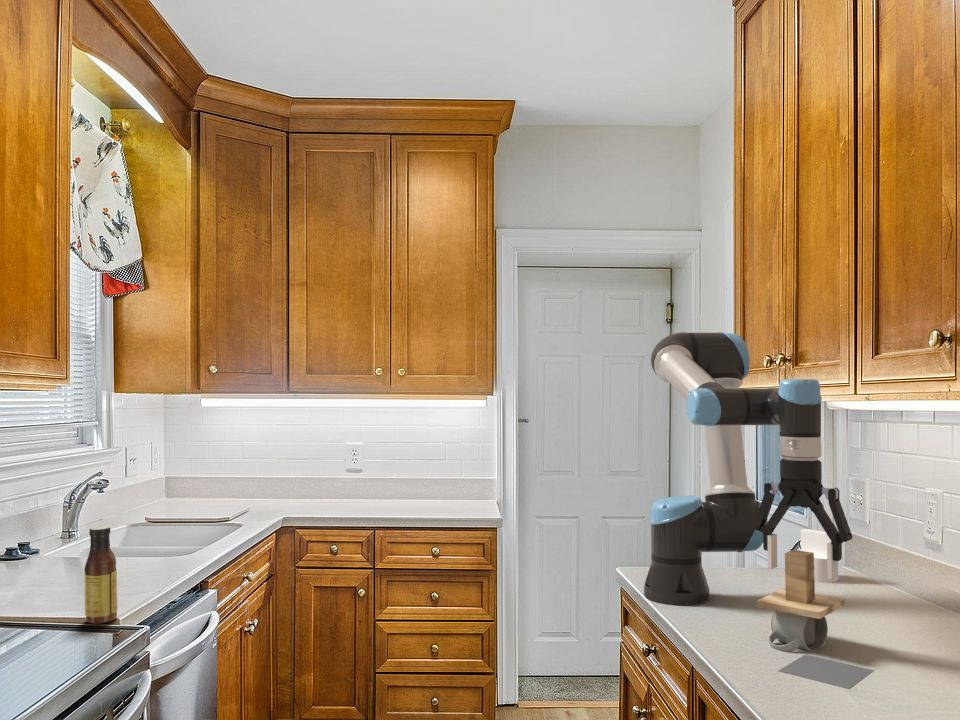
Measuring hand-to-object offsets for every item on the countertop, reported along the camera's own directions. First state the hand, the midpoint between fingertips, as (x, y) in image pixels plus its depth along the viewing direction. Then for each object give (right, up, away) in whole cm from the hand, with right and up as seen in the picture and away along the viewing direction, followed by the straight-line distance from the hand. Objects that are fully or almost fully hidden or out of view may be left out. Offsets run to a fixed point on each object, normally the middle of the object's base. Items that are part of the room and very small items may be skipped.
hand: (801, 572), depth 156 cm
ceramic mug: (-2, -14, -1) cm, 14 cm away
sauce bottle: (-143, -15, +16) cm, 144 cm away
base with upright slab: (+26, -16, +54) cm, 62 cm away
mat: (-2, -14, -15) cm, 21 cm away
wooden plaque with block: (0, -6, 0) cm, 6 cm away
